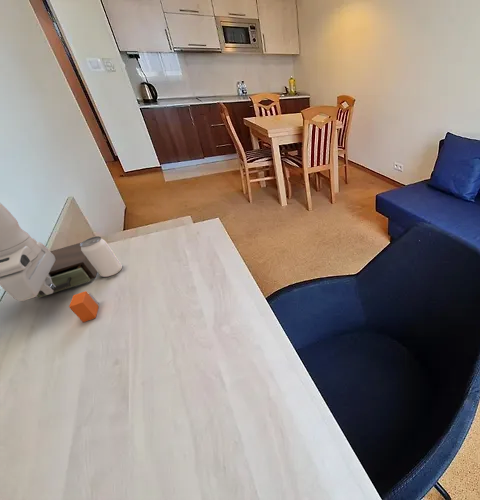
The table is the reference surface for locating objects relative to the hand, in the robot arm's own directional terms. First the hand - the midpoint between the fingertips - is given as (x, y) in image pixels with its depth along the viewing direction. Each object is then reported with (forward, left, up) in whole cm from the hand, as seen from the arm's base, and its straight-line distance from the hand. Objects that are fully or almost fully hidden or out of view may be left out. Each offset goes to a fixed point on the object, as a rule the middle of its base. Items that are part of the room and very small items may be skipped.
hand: (51, 291), depth 87 cm
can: (+12, +9, -5) cm, 16 cm away
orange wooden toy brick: (+9, -11, -4) cm, 15 cm away
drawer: (0, +11, -4) cm, 11 cm away
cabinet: (0, +16, -4) cm, 17 cm away
